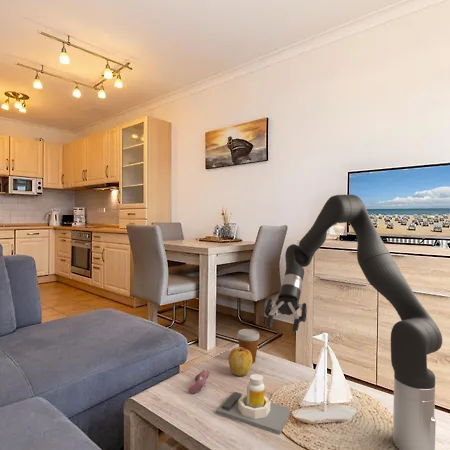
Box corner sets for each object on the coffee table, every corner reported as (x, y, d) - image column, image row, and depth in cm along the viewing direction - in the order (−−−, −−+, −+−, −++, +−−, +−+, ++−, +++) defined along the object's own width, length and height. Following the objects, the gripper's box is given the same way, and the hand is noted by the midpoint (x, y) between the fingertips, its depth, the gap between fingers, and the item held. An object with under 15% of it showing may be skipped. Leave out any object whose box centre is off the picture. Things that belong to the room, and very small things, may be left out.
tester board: (291, 411, 98) (292, 400, 98) (279, 434, 88) (280, 421, 88) (233, 394, 107) (233, 384, 107) (215, 413, 97) (216, 401, 97)
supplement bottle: (243, 405, 99) (244, 374, 99) (257, 402, 101) (258, 371, 101) (252, 415, 94) (253, 382, 94) (267, 410, 96) (268, 379, 96)
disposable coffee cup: (258, 367, 128) (259, 337, 128) (235, 365, 130) (235, 335, 130) (259, 357, 138) (260, 329, 138) (237, 355, 139) (238, 327, 139)
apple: (252, 369, 126) (253, 344, 126) (251, 380, 117) (251, 353, 117) (229, 367, 127) (230, 342, 127) (226, 378, 118) (227, 351, 118)
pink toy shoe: (198, 400, 106) (207, 382, 106) (186, 392, 107) (195, 375, 106) (205, 385, 116) (213, 369, 115) (194, 378, 117) (203, 362, 116)
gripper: (270, 281, 120) (259, 320, 109) (308, 285, 113) (300, 326, 103) (274, 293, 124) (264, 331, 114) (311, 297, 118) (304, 337, 108)
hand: (281, 328), depth 109 cm, fingers open, 8 cm apart
